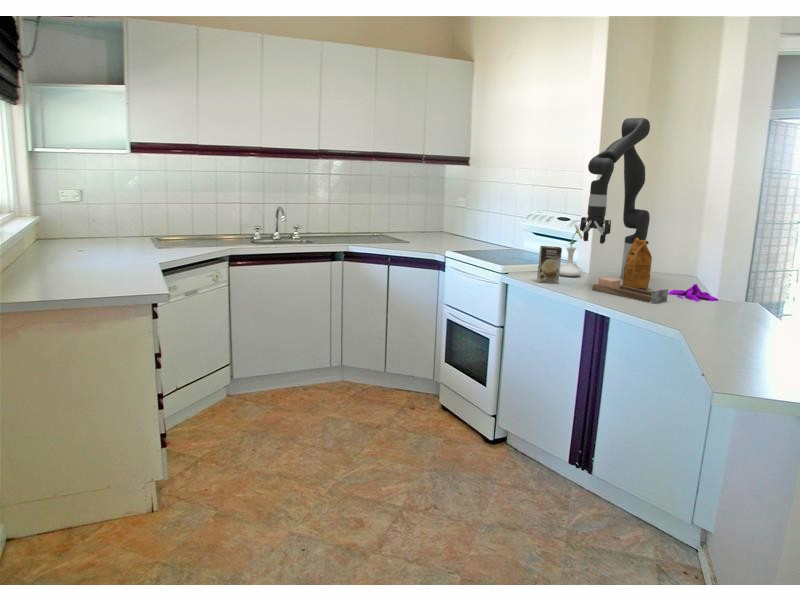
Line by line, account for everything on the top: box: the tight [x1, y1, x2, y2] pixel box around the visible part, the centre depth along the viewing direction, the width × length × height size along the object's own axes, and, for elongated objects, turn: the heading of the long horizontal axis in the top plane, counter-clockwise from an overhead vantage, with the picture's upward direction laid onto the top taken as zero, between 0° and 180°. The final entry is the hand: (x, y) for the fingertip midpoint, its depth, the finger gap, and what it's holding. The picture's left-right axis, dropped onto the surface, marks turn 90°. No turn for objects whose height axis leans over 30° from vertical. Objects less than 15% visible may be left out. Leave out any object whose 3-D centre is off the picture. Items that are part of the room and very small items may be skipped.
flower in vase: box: [559, 223, 583, 277], centre depth 312 cm, size 13×11×25 cm
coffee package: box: [621, 238, 653, 290], centre depth 288 cm, size 10×12×22 cm
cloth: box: [668, 283, 719, 302], centre depth 273 cm, size 22×19×6 cm
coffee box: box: [536, 245, 563, 284], centre depth 295 cm, size 9×6×16 cm
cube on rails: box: [591, 283, 669, 304], centre depth 272 cm, size 10×30×5 cm, turn 37°
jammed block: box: [597, 276, 622, 289], centre depth 280 cm, size 6×7×5 cm
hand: (593, 242), depth 284 cm, fingers open, 8 cm apart
